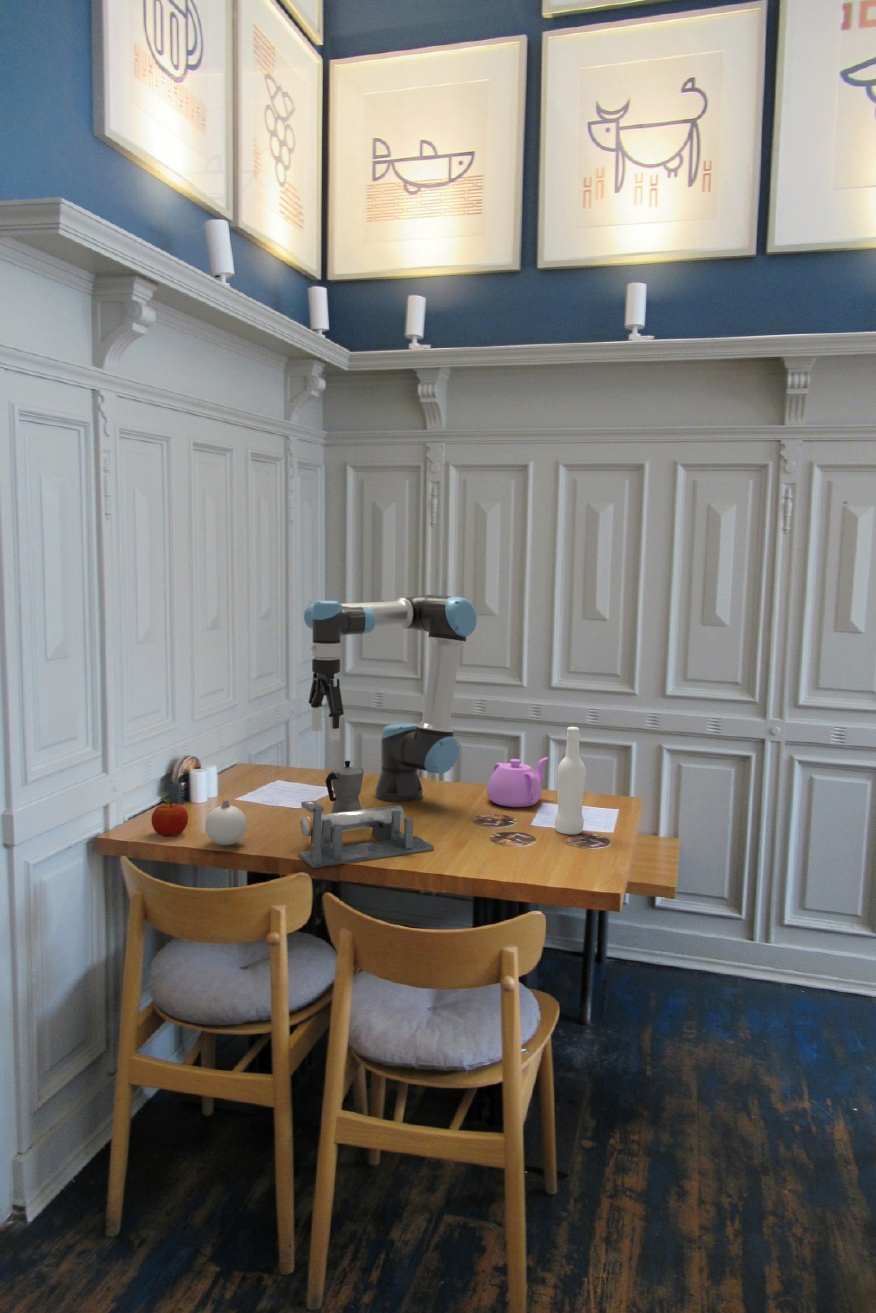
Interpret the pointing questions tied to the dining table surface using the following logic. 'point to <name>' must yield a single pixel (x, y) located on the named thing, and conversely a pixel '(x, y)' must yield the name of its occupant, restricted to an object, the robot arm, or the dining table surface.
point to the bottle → (570, 787)
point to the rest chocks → (378, 832)
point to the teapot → (516, 784)
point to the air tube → (354, 819)
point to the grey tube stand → (341, 854)
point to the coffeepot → (345, 788)
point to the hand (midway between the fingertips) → (325, 735)
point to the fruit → (169, 819)
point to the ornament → (225, 824)
